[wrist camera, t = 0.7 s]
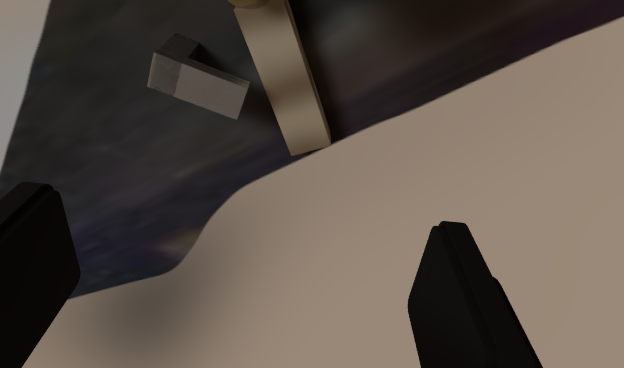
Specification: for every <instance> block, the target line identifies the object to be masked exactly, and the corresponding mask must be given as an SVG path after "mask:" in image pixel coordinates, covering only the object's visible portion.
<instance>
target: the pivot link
mask: <svg viewBox="0 0 624 368" xmlns="http://www.w3.org/2000/svg"><path fill="white" fill-rule="evenodd" d="M228 1H229V2H230V3H231V4H233V5H235V6H236V7H235V9H234V12H235V15H236V17H237V20H238V22H239V25H240V27H241V30H242V32H243V35H244V37H245V40H246V42H247V45H248V47H249V50H250V52H251V55H252V58H253V60H254V63H255V65H256V68H257V70H258V73H259V75H260V78H261V80H262V83H263V85H264V88H265V90H266V93H267V95H268V98H269V101H270V103H271V106H272V108H273V111H274V113H275V116H276V118H277V121H278V123H279V126H280V128H281V131H282V133H283V136H284V138H285V141H286V144H287V146H288V149H289V151H290V154H291V156H293V155H297V154H301V153H305V152H308V151H312V150H316V149H320V148H323V147H327V146H331V134H330V129H329V126H328V123H327V120H326V117H325V114H324V110H323V107H322V104H321V101H320V98H319V95H318V92H317V89H316V86H315V82H314V79H313V76H312V73H311V70H310V67H309V64H308V61H307V58H306V55H305V51H304V48H303V45H302V42H301V39H300V36H299V33H298V30H297V27H296V23H295V20H294V17H293V14H292V11H291V8H290V5H289V2H288V0H228Z"/></svg>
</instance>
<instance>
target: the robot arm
mask: <svg viewBox="0 0 624 368" xmlns="http://www.w3.org/2000/svg"><path fill="white" fill-rule="evenodd" d="M79 279H80V267H79V264H78V260H77V256H76V252H75V248H74V245H73V241H72V237H71V233H70V230H69V226H68V222H67V218H66V215H65V211H64V207H63V203H62V199H61V196H60V193H59V192H58V191H54V189H53V187H52V186H51V185H49V184H43V183H32V182H21V183H20V184H18V185H17V186H16V187H15V188H13V189H12V190H11V191H10V192H9V193H8V194H6V195H5V196H4V197H3V198H2V199H1V200H0V368H22V366H23V365H24V363H25V362H26V360H27V359H28V357H29V356H30V354H31V353H32V351H33V350H34V348H35V347H36V345H37V344H38V342H39V341H40V339H41V338H42V336H43V335H44V334H45V332H46V331H47V329H48V328H49V326H50V325H51V323H52V322H53V320H54V319H55V317H56V316H57V314H58V313H59V311H60V310H61V308H62V307H63V305H64V304H65V302H66V301H67V299H68V298H69V296H70V295H71V293H72V292H73V290H74V289H75V287H76V286H77V284H78V282H79ZM408 313H409V318H410V322H411V326H412V331H413V335H414V339H415V343H416V348H417V351H418V356H419V361H420V365H421V368H543V367H542V365H541V363H540V361H539V359H538V357H537V355H536V353H535V351H534V349H533V347H532V345H531V343H530V341H529V340H528V338H527V335H526V334H525V332H524V330H523V328H522V326H521V324H520V322H519V320H518V318H517V316H516V314H515V312H514V310H513V308H512V306H511V304H510V302H509V300H508V298H507V296H506V294H505V292H504V290H503V288H502V286H501V284H500V283H499V282H498V280H497V279H496V278H494V277H492V275H491V273H490V271H489V269H488V267H487V265H486V263H485V261H484V259H483V257H482V255H481V253H480V251H479V249H478V246H477V244H476V243H475V241H474V238H473V237H472V234H471V232H470V230H469V228H468V227H467V225H466V224H465V223H460V222H449V221H442V222H441V223H440V224H439V226H433V227H432V229H431V232H430V235H429V238H428V241H427V244H426V247H425V250H424V253H423V256H422V259H421V262H420V265H419V268H418V271H417V274H416V277H415V280H414V283H413V286H412V289H411V292H410V295H409V299H408Z"/></svg>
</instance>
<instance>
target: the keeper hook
mask: <svg viewBox="0 0 624 368" xmlns="http://www.w3.org/2000/svg"><path fill="white" fill-rule="evenodd" d="M198 47H199V42H196V41H194V40H191V39H189V38H186V37H184V36H181V35H179V34H176V33H175V34H174V35H173V36H172V37H170V38H169V39H168V40H167V41H166V42H165V43H164V44H163V45H161V46H160V47H159V48H158V49H157V50H156V51H155V52H154V54H153V59H152V64H151V69H150V75H149V80H148V85H147V87H150V88H152V89H155V90H158V91H160V92H163V93H166V94H169V95H171V96H174V97H177V98H179V99H182V100H185V101H187V102H190V103H193V104H195V105H198V106H201V107H203V108H206V109H209V110H212V111H214V112H217V113H220V114H222V115H225V116H228V117H230V118H233V119H236V120H237V119H238V116H239V113H240V111H241V108H242V105H243V102H244V99H245V96H246V93H247V90H248V87H249V84H250V82H248V81H246V80H243V79H241V78H238V77H236V76H233V75H231V74H228V73H225V72H223V71H220V70H218V69H215V68H213V67H210V66H208V65H205V64H203V63H200V62H198V61H195V59H196V55H197V51H198Z"/></svg>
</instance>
